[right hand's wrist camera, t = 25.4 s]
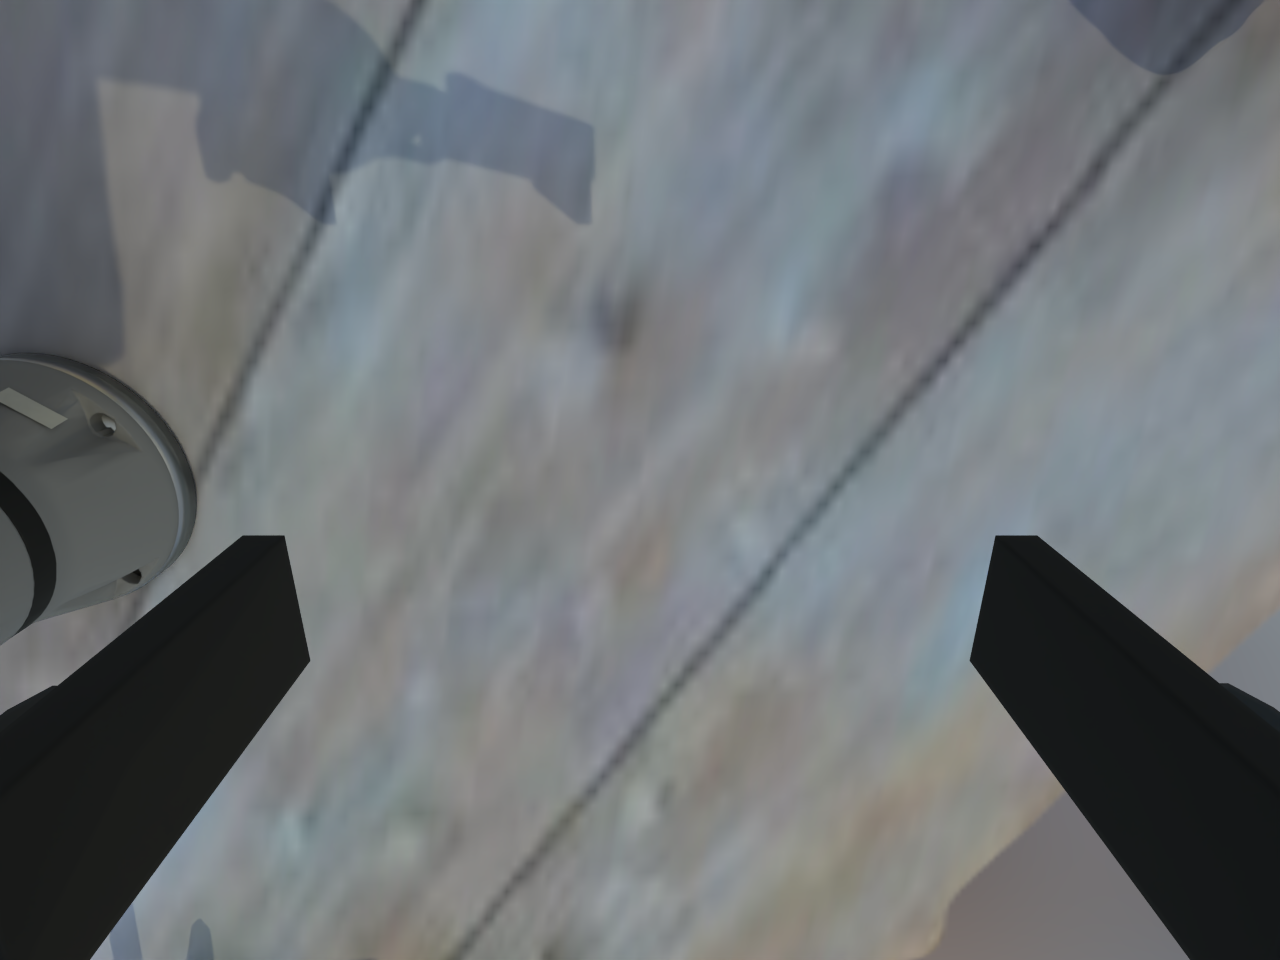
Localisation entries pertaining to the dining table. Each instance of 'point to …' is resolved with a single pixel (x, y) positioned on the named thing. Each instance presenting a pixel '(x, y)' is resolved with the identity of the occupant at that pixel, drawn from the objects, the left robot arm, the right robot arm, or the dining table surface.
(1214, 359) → the dining table surface
